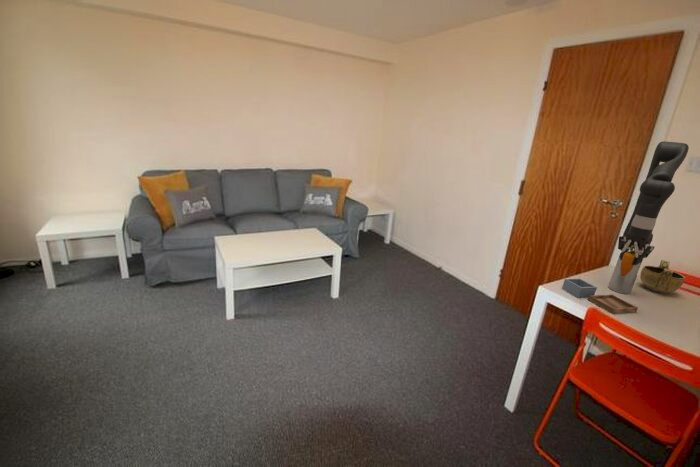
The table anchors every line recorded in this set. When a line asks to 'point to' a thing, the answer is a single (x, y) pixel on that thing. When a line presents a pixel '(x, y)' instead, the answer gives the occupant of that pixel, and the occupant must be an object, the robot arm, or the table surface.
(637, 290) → the table surface
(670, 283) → the tan woven basket
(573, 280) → the blue-grey square box
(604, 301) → the tray
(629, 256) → the carrot
